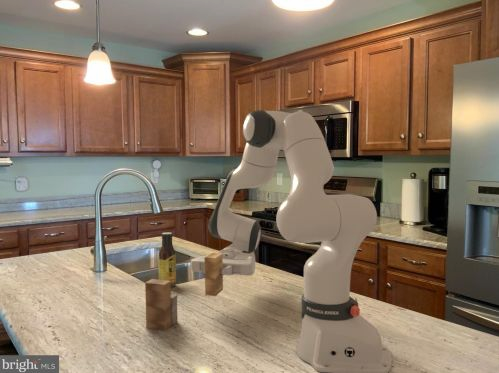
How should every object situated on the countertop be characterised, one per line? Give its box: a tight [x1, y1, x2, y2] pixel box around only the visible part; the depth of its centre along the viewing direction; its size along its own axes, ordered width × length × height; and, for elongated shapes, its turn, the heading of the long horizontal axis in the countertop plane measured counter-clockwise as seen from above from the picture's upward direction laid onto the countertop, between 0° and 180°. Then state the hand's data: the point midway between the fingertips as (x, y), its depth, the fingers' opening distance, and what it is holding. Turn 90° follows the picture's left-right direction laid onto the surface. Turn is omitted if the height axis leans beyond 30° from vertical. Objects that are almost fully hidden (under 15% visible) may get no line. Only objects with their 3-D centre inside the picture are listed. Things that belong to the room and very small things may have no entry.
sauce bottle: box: [158, 232, 177, 288], centre depth 148 cm, size 7×6×20 cm
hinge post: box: [144, 278, 178, 331], centre depth 114 cm, size 7×6×13 cm
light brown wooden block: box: [204, 252, 224, 297], centre depth 117 cm, size 3×6×11 cm, turn 163°
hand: (213, 272), depth 117 cm, fingers closed on light brown wooden block, 3 cm apart
